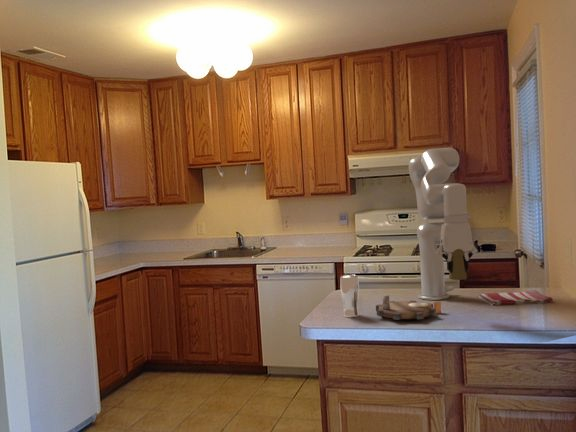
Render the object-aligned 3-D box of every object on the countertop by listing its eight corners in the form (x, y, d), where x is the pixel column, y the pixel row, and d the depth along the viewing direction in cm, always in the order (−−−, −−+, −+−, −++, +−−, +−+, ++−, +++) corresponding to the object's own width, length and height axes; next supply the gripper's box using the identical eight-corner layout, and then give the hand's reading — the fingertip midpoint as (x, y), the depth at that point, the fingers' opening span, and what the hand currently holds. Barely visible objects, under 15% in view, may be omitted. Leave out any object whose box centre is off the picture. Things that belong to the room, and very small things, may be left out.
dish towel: (554, 304, 190) (554, 297, 190) (492, 307, 191) (492, 300, 191) (533, 295, 207) (533, 288, 207) (477, 297, 208) (476, 291, 208)
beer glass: (355, 318, 183) (353, 278, 182) (338, 316, 187) (336, 277, 186) (363, 314, 189) (361, 274, 188) (346, 312, 193) (344, 274, 192)
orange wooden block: (424, 307, 193) (423, 297, 193) (444, 314, 182) (444, 303, 182) (382, 314, 186) (381, 304, 186) (401, 321, 175) (400, 310, 175)
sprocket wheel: (416, 303, 196) (415, 285, 196) (448, 315, 175) (447, 295, 175) (365, 309, 190) (364, 291, 190) (392, 322, 169) (391, 302, 169)
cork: (467, 276, 175) (466, 245, 174) (466, 280, 169) (465, 247, 168) (449, 276, 177) (448, 245, 176) (447, 279, 172) (446, 248, 171)
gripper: (476, 217, 175) (478, 269, 176) (428, 220, 176) (430, 271, 177) (484, 219, 168) (485, 272, 169) (433, 221, 169) (436, 275, 170)
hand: (457, 271), depth 173 cm, fingers closed on cork, 4 cm apart
